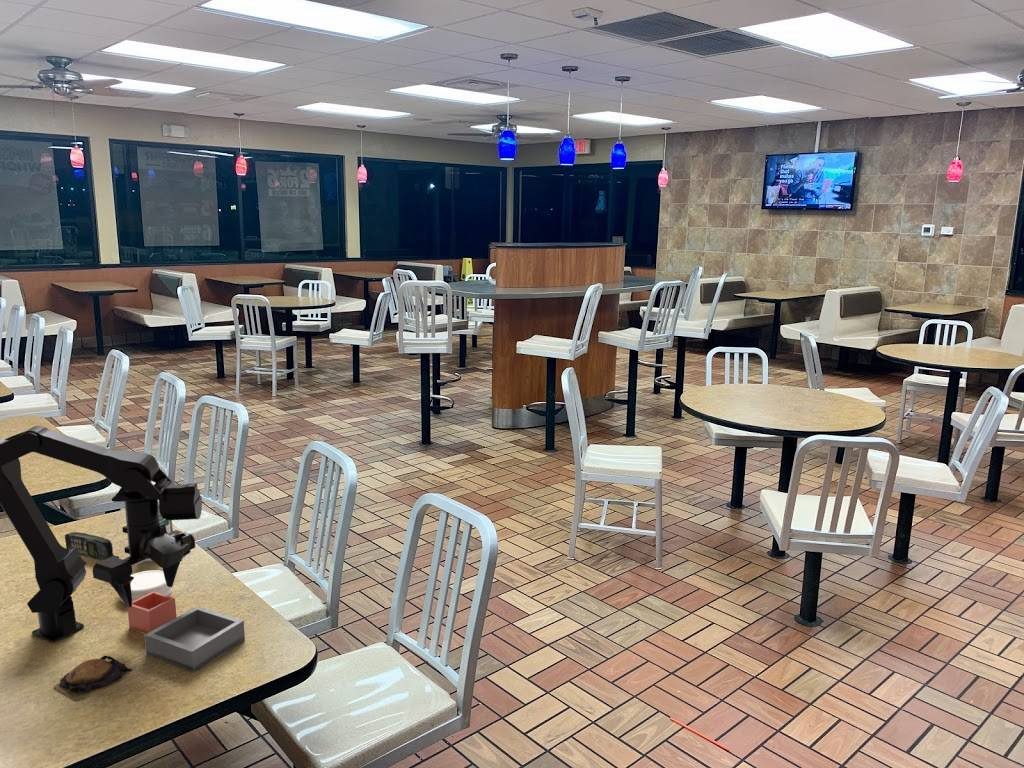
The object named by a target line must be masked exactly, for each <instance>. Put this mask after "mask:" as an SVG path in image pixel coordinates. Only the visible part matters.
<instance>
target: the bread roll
mask: <svg viewBox="0 0 1024 768" xmlns="http://www.w3.org/2000/svg"><path fill="white" fill-rule="evenodd" d="M132 671H133V668H132V667H130V668H129V667H128V666H126V664H125V663H122V662H120V661H119V660H118V659H115V658H114V657H112V656H110V655H109V656H108V655H103V656H102V657H100V658H90V659H88V660H85V661H83V662H81V663H80V664H78V665H77V666H75V668H73V669H72V670H71V671H69V672H68V673H66V674H64V676H63V677H61V678H60V681H59V683H56V684H55V685H54V686H53V690H55V691H57V692H58V693H60V694H62V695H64V696H66V697H67V698H70V699H71V700H73V701H75V702H78V701H80V700H83V699H85V698H87V697H89V696H91V695H94V694H96V693H98V692H99V691H101V690H103V689H106V688H107V687H109V686H111V685H113V684H115V683H116V682H118V681H120V680H121V679H122V680H123V678H125V677H126V676H129V674H130V672H132Z"/></svg>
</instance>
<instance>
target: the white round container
mask: <svg viewBox="0 0 1024 768" xmlns="http://www.w3.org/2000/svg"><path fill="white" fill-rule="evenodd" d="M131 576H132V577H134V579H133V580H132V582H131V594H132V602H133V601H135V600H137V599H139V598H141V597H143V596H145V595H147V594H149V593H151V592H153V591H154V592H157V593H160V594H164V595H167V596H170V594H171V593H172V590H173V586H172V587H171V588H170V587H168V586H167V584H166V581H165V577H164V572H163V570H155V569H154V570H143V571H139V572H136V573H132V574H131ZM119 600H120V601H121V602H122V603H123V604H124V602H123V601H122V599H121V598H120V597H119Z"/></svg>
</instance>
